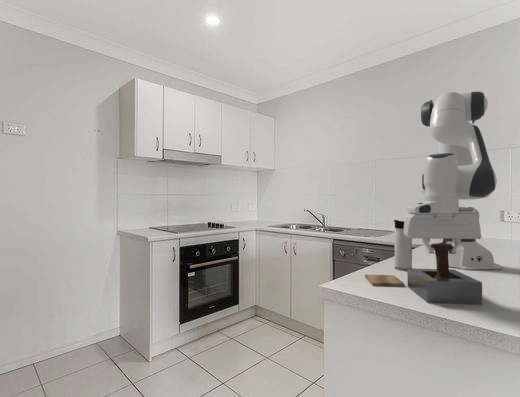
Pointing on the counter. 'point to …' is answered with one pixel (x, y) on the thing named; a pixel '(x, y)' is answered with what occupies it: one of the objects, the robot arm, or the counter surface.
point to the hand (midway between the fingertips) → (441, 253)
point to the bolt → (442, 259)
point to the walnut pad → (384, 280)
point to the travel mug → (402, 248)
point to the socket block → (444, 287)
